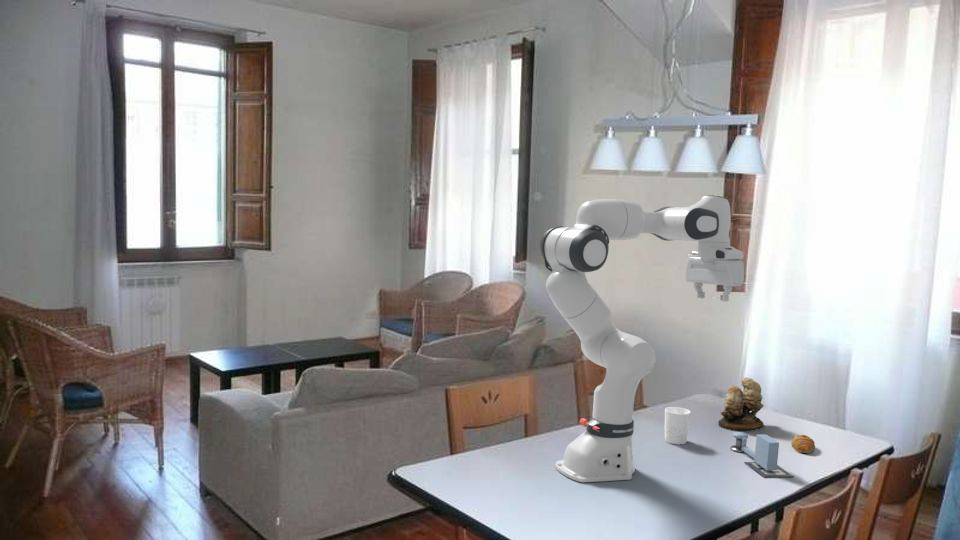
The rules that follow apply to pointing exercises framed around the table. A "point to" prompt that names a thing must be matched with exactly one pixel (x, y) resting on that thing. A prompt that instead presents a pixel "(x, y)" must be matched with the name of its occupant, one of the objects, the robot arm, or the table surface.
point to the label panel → (768, 471)
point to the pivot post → (737, 446)
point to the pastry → (803, 444)
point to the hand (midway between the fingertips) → (712, 299)
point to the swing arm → (761, 450)
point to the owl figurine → (742, 407)
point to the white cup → (676, 425)
